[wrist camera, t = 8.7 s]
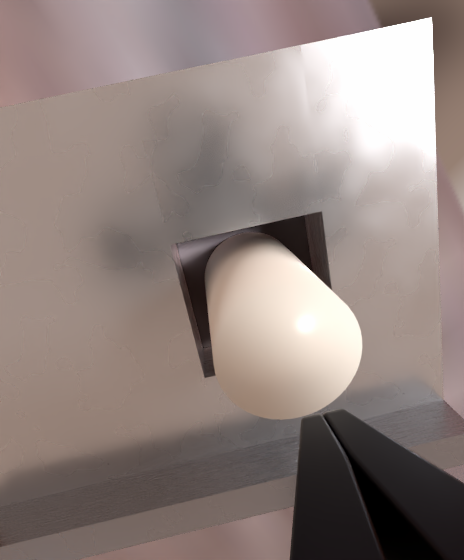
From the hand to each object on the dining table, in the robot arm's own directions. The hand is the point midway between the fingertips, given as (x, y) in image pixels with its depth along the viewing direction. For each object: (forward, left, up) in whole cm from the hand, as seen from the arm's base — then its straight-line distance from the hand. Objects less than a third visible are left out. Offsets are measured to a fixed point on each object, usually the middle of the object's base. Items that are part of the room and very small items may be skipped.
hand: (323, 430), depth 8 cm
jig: (0, +3, -10) cm, 10 cm away
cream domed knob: (0, 0, -10) cm, 10 cm away
